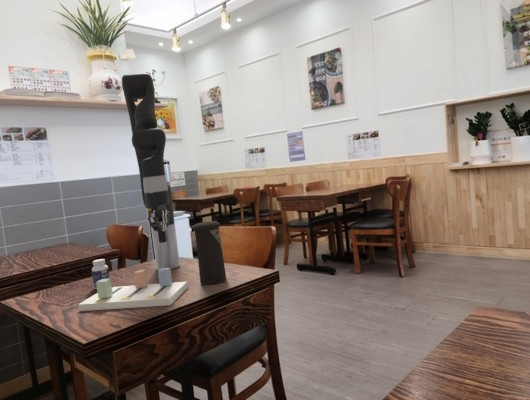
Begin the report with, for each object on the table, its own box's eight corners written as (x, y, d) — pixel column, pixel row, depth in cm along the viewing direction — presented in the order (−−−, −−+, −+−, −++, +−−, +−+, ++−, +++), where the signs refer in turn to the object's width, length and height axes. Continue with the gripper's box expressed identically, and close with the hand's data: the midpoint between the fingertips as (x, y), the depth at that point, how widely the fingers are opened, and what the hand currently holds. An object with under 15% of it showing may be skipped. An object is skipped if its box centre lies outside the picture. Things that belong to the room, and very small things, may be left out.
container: (229, 281, 132) (222, 220, 130) (202, 287, 129) (195, 225, 127) (222, 275, 140) (215, 218, 138) (197, 281, 137) (189, 222, 135)
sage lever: (103, 295, 124) (101, 279, 124) (112, 294, 124) (110, 278, 123) (98, 298, 121) (96, 282, 121) (107, 297, 121) (105, 281, 120)
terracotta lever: (139, 285, 131) (137, 270, 131) (148, 284, 131) (146, 269, 130) (135, 288, 128) (133, 272, 128) (144, 287, 128) (142, 272, 127)
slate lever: (163, 283, 130) (161, 268, 129) (172, 282, 129) (170, 267, 129) (159, 286, 127) (157, 270, 126) (168, 285, 127) (166, 270, 126)
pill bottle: (105, 289, 140) (100, 261, 139) (91, 290, 141) (87, 262, 140) (113, 284, 145) (109, 257, 144) (100, 285, 146) (96, 258, 145)
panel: (106, 293, 134) (106, 287, 134) (188, 287, 131) (187, 281, 130) (79, 311, 119) (78, 304, 118) (170, 305, 115) (169, 297, 115)
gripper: (153, 189, 140) (160, 239, 141) (136, 193, 127) (143, 247, 128) (174, 187, 138) (181, 237, 140) (158, 190, 125) (166, 245, 127)
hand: (163, 242), depth 134 cm, fingers closed
